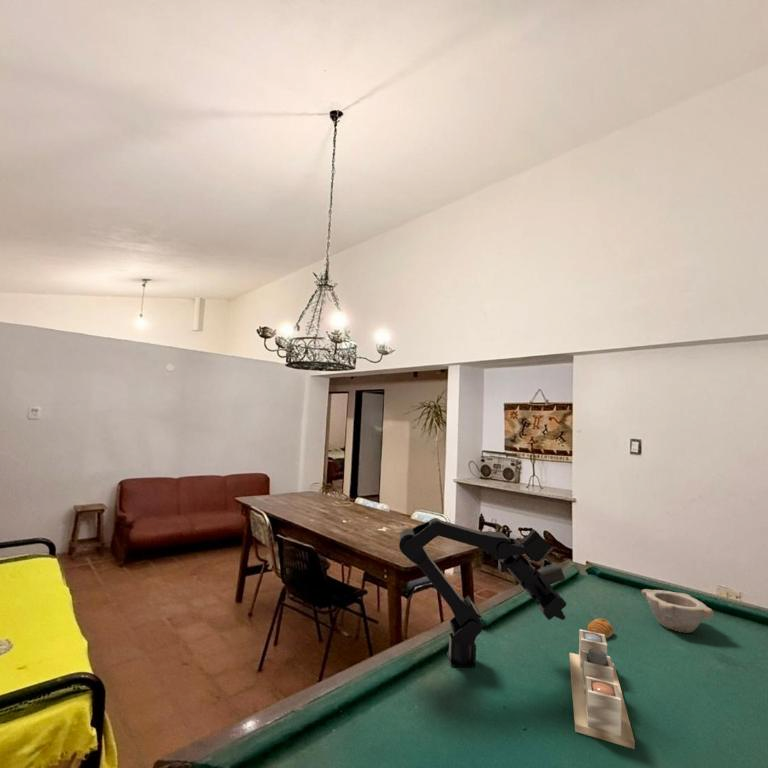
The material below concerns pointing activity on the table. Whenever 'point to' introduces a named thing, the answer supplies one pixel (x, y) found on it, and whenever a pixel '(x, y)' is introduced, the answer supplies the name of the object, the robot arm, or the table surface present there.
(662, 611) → the mortar
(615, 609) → the table surface
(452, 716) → the table surface
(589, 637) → the pale blue rounded knob
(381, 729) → the table surface
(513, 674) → the table surface
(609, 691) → the terracotta button
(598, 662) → the grey rounded piece
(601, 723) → the button console
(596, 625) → the pastry
